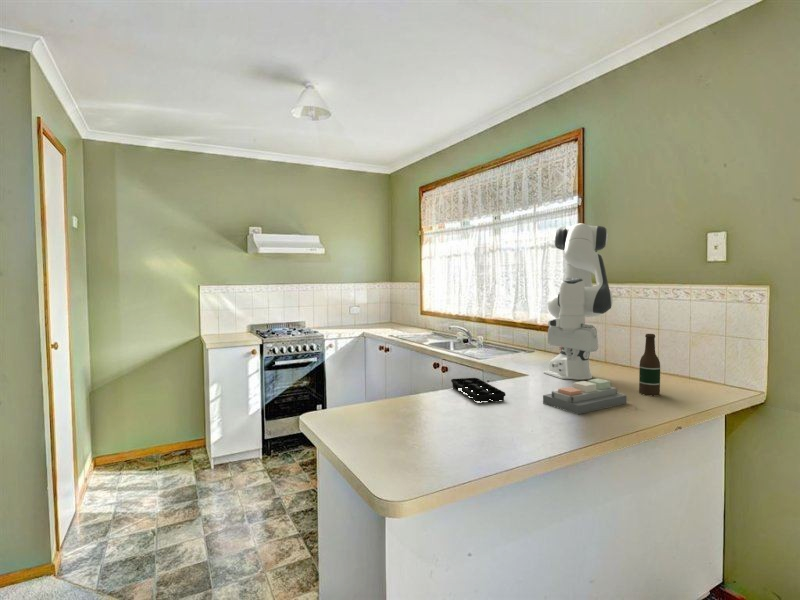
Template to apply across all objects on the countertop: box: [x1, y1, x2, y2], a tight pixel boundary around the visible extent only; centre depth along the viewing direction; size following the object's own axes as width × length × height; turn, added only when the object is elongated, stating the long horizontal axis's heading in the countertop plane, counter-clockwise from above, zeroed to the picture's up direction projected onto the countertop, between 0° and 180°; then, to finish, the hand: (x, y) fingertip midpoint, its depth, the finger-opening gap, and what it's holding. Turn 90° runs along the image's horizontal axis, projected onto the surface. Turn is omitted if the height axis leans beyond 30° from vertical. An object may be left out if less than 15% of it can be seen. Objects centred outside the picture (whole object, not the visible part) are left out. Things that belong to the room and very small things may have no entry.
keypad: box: [542, 386, 628, 415], centre depth 168 cm, size 16×26×5 cm, turn 118°
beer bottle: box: [638, 333, 661, 397], centre depth 179 cm, size 8×8×24 cm
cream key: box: [572, 380, 596, 393], centre depth 168 cm, size 6×6×3 cm
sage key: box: [587, 378, 611, 390], centre depth 171 cm, size 6×6×3 cm
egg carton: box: [450, 377, 506, 402], centre depth 184 cm, size 18×30×4 cm, turn 26°
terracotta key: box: [557, 386, 581, 396], centre depth 164 cm, size 6×6×3 cm
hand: (571, 360), depth 164 cm, fingers closed
